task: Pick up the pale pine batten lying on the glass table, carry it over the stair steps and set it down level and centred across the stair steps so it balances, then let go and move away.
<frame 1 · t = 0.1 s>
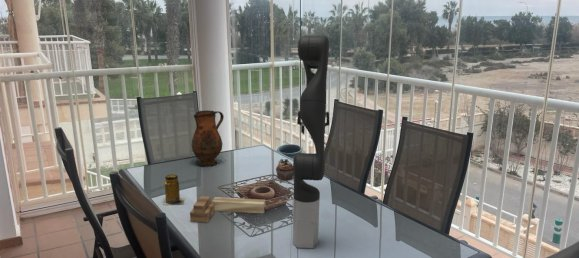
hand: (313, 134, 192), 29 cm above the table, tool pointing down, fingers open, 8 cm apart
pitcher: (210, 163, 244), on the table
stair steps: (202, 216, 175), on the table
condiment: (174, 202, 190), on the table
batten: (238, 210, 182), on the table
cupcake: (285, 178, 221), on the table
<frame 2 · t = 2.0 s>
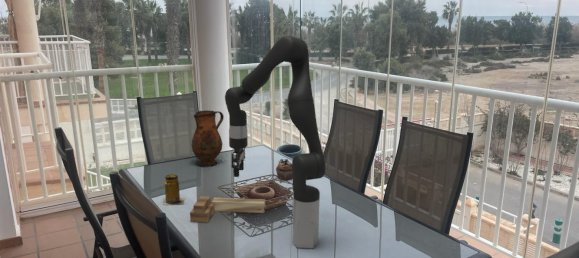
hand: (238, 173, 179), 16 cm above the table, tool pointing down, fingers open, 8 cm apart
nothing on the table moved.
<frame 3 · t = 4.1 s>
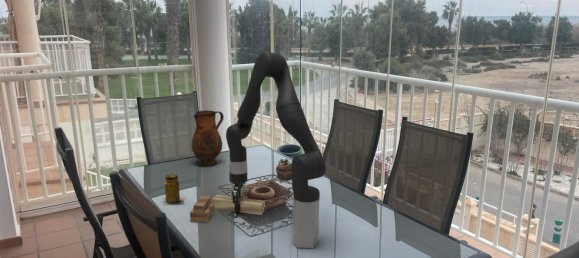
hand: (238, 208, 182), 1 cm above the table, tool pointing down, fingers closed on batten, 5 cm apart
batten: (238, 209, 182), on the table, touching gripper
everything else where it was.
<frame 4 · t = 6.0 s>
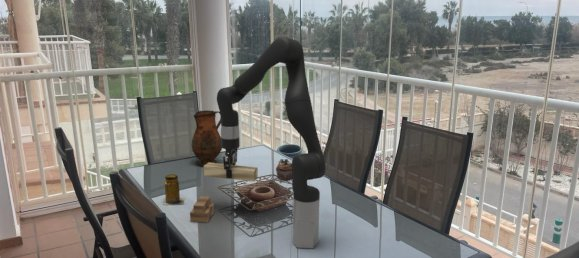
hand: (230, 175, 178), 16 cm above the table, tool pointing down, fingers closed on batten, 5 cm apart
batten: (230, 176, 178), point 15 cm above the table, touching gripper
everything else where it was.
when the fingers open (8 cm above the table, at t = 8.3 s): batten stays where it is, resting on stair steps.
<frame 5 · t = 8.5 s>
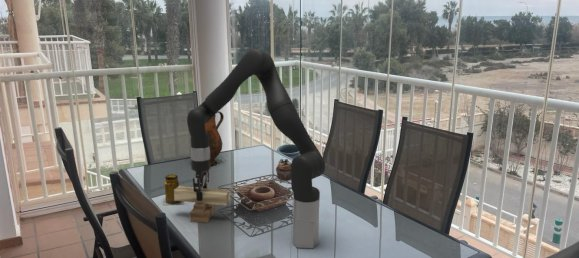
hand: (202, 197, 173), 9 cm above the table, tool pointing down, fingers open, 6 cm apart
batten: (202, 200, 173), point 7 cm above the table, touching stair steps
everything else where it was.
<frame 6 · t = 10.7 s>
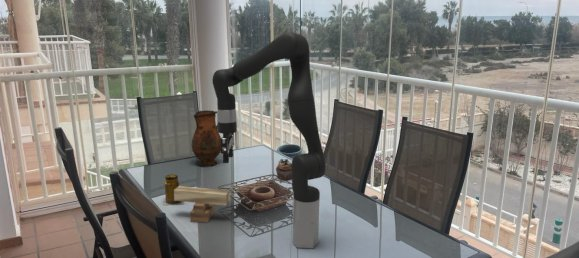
hand: (228, 159, 172), 24 cm above the table, tool pointing down, fingers open, 8 cm apart
nothing on the table moved.
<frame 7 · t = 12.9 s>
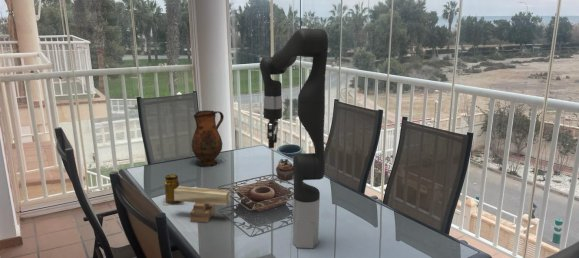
hand: (272, 145, 177), 28 cm above the table, tool pointing down, fingers open, 8 cm apart
nothing on the table moved.
at the end: batten 0.0 cm off-centre on the stair steps, point 7.0 cm above the stair steps's base; batten tilted 0°; batten touching stair steps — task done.
